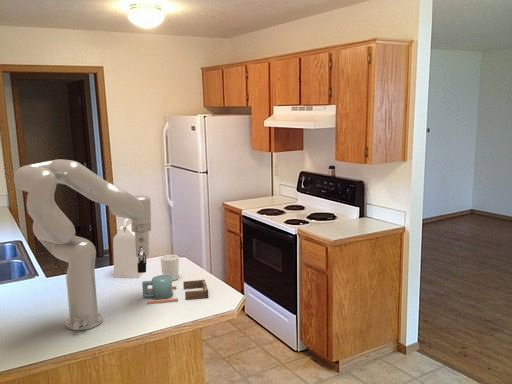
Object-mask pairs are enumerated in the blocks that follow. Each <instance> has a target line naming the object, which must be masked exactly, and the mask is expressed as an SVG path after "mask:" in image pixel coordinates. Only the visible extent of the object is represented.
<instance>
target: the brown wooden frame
mask: <svg viewBox="0 0 512 384" xmlns="http://www.w3.org/2000/svg"><path fill="white" fill-rule="evenodd" d="M182 285H183V290H189V291H185V292H184V294H185V295H184V297H185V301H186V300H187V301H188V300H198V299H206V298H207V299H208V298H209V288H208V285H207V282H206V280H205V279H196V280H185V281H183V284H182ZM200 288H201V289H200ZM191 289H197V290H191ZM198 289H199V290H198ZM190 290H191V291H190Z"/></svg>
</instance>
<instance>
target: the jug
mask: <svg viewBox="0 0 512 384" xmlns="http://www.w3.org/2000/svg"><path fill="white" fill-rule="evenodd" d="M148 286H151V288H152V291H148V288H149V287H148ZM172 286H173V281H172V277H171V276H168V275H163V274H160V275H157V276H153V277H152V278H151V280H144V281H143V280H142V296H143V297H151V296H152V298H153V300H162V299H172V298H173V296H174V295H173V289H172Z"/></svg>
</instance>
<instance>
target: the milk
mask: <svg viewBox="0 0 512 384" xmlns="http://www.w3.org/2000/svg"><path fill="white" fill-rule="evenodd" d="M117 231H118V232H117V233H116V234H115V235H114V236H113V239H112V242H113V243H112V248H113V251H112V252H113V279H140V278H141V276H142V275H143V274H144V273H138V257H137V256H136V248H135V232H132V228H131V219H128V218H124V220H123V225H121V226H120V227H119V228H118V229H117Z"/></svg>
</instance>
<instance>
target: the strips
mask: <svg viewBox="0 0 512 384" xmlns="http://www.w3.org/2000/svg"><path fill="white" fill-rule="evenodd" d="M172 290H177V285H172ZM148 291H152V287H150V288H149V287H148ZM175 302H176V303H177V302H179V298H178V297H175V298H173V297H171V298H169V299H162V300H157V299H152V300H146V304H147V305H153V304H164V303H175Z"/></svg>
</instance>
